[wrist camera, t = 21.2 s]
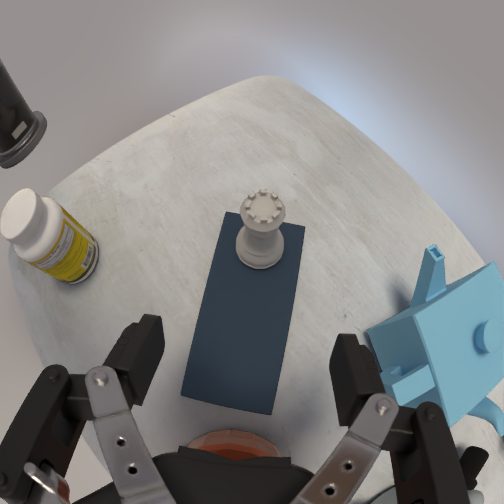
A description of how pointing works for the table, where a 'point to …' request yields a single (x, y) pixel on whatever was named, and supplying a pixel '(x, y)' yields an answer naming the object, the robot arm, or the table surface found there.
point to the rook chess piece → (261, 230)
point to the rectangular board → (243, 324)
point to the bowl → (235, 444)
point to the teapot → (446, 343)
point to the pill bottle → (48, 237)
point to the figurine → (470, 467)
